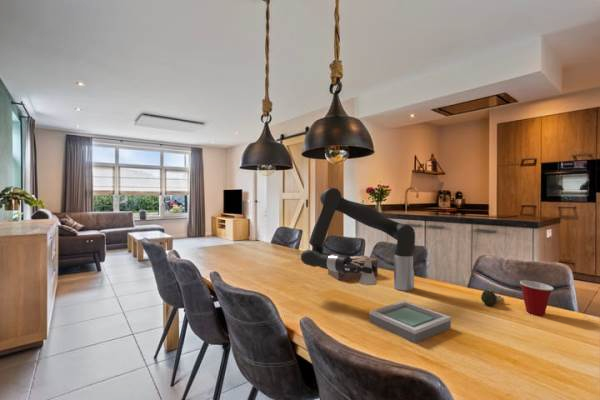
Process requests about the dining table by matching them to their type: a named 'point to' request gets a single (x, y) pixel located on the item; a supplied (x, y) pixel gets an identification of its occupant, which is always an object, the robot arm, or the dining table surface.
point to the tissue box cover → (353, 275)
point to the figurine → (490, 298)
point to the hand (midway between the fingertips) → (374, 270)
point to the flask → (368, 275)
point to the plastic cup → (535, 296)
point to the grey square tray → (410, 321)
